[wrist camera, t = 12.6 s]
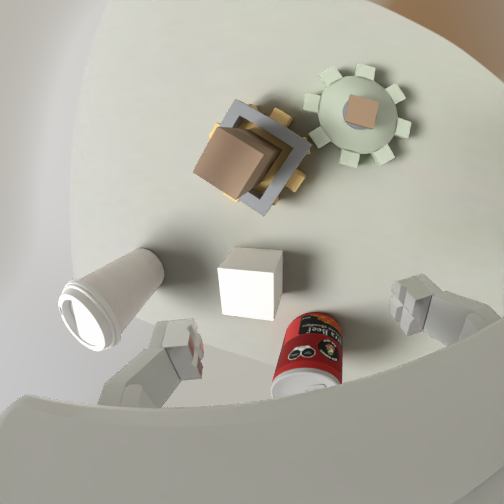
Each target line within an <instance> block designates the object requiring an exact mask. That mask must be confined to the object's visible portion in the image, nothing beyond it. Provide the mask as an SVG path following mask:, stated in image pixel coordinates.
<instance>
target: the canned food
mask: <svg viewBox="0 0 504 504" xmlns="http://www.w3.org/2000/svg"><path fill="white" fill-rule="evenodd" d="M339 384H342V330H341V328H340V326H339V324H338V323H337V321H336V320H335V319H334V318H332V317H331V316H329V315H326V314H323V313H307V314H303V315H301V316H299V317H297V318H296V319H295V320H294V321H293V322H292V323H291V324H290V325H289V327H288V328H287V330H286V334H285V338H284V341H283V345H282V349H281V352H280V356H279V360H278V363H277V367H276V370H275V374H274V377H273V381H272V385H271V396H272V398H279V397H284V396H290V395H295V394H300V393H305V392H310V391H314V390H319V389H323V388H327V387H331V386H335V385H339Z"/></svg>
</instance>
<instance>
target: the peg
mask: <svg viewBox="0 0 504 504" xmlns="http://www.w3.org/2000/svg"><path fill="white" fill-rule="evenodd" d="M281 152H282V149H280V148H278V147H277V146H275V145H274V144H272V143H271V142H269V141H267V140H266V139H264V138H262V137H261V136H259V135H258V134H256V133H254V132H253V131H251V130H249V129H241V128H230V127H217V128H216V130H215V132H214V133H213V135H212V137H211V139H210V141H209V142H208V144H207V146H206V148H205V150H204V152H203V153H202V155H201V157H200V159H199V161H198V163H197V165H196V167H195V169H194V171H193V173H195V174H197V175H198V176H200V177H201V178H203V179H204V180H206V181H207V182H209V183H210V184H212V185H213V186H215V187H216V188H218V189H220V190H221V191H223V192H224V193H226V194H227V195H229V196H230V197H232V198H233V199H235V200H237V199H238V198H239V197H241V196H242V195H244V194H245V193H247V192H248V191H250V190H251V189H252V188H254V187H255V186H257V185H258V184H260V183H261V182H262V181H263V179H264V178H265V176H266V175H267V173H268V171H269V170H270V168H271V167H272V165H273V164H274V162H275V161H276V159H277V158H278V156H279V155H280V153H281Z"/></svg>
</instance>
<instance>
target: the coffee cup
mask: <svg viewBox="0 0 504 504" xmlns="http://www.w3.org/2000/svg"><path fill="white" fill-rule="evenodd" d="M163 280H164V268H163V265H162V263H161V261H160V260H159V258H158V257H157V256H156V255H155V254H154V253H153V252H151V251H149V250H147V249H143V248H140V249H136V250H134V251H132V252H130V253H128V254H126V255H125V256H123V257H121V258H119V259H117V260H115V261H113V262H111V263H109V264H107V265H106V266H104V267H102V268H100V269H98V270H96V271H94V272H92V273H91V274H89V275H87V276H85V277H83V278H81V279H72V280H70V281H69V282H68V283H67V284H66V285H65V287H64V289H63V291H62V295H61V296H60V298H59V302H58V304H59V310H60V313H61V316H62V318H63V321H64V322H65V324H66V326H67V327H68V329H69V330H70V332H71V333H72V334H73V335H74V336H75V338H76V339H77V340H78V341H79V342H81V343H82V344H83V345H84V346H86V347H88V348H89V349H92V350H94V351H101V350H103V349H109V348H112V347H114V346H116V345H118V343H119V342H120V340H121V333H122V332H123V331H124V329H125V328H126V327H127V325H128V324H129V323H130V322H131V320H132V319H133V318H134V317H135V315H136V314H137V313H138V312H139V310H140V309H141V308H142V307H143V305H144V304H145V303H146V302H147V300H148V299H149V298H150V297H151V296H152V294H153V293H154V292H155V291H156V290H157V288H158V287H159V286H160V285H161V283H162V282H163Z"/></svg>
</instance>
